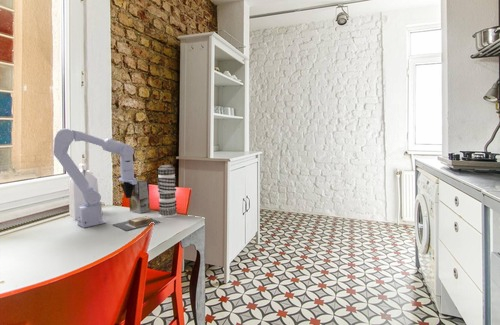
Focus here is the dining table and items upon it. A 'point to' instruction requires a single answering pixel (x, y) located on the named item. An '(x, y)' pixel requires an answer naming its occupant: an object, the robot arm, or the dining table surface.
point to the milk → (75, 193)
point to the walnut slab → (140, 221)
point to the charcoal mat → (128, 227)
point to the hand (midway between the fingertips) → (128, 197)
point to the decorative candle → (167, 191)
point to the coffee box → (140, 197)
